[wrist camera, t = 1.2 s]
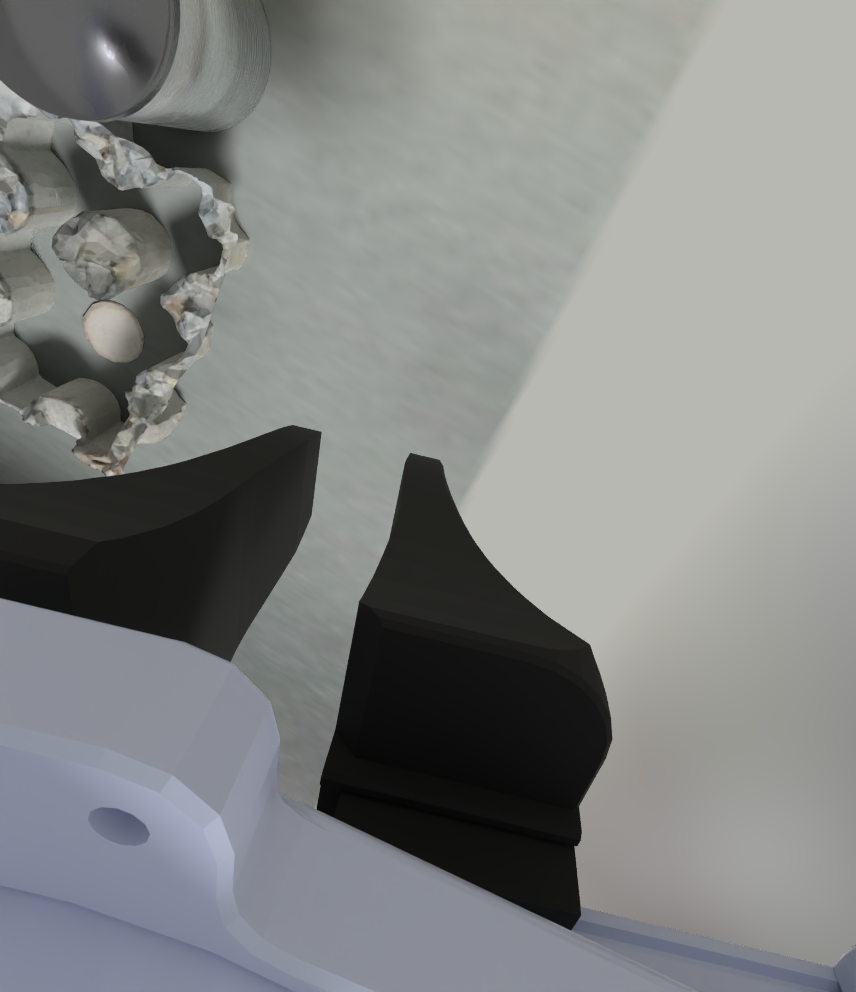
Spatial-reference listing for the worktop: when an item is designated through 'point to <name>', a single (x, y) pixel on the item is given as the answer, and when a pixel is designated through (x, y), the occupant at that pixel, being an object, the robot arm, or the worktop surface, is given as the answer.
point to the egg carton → (99, 278)
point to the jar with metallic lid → (138, 59)
